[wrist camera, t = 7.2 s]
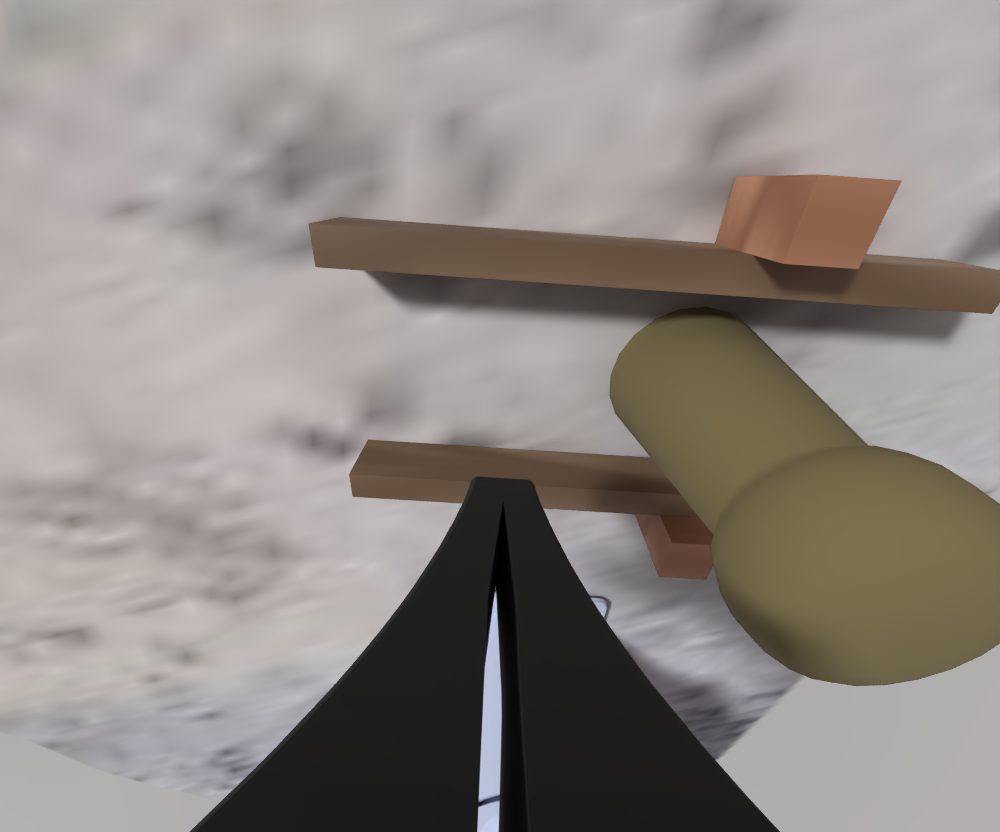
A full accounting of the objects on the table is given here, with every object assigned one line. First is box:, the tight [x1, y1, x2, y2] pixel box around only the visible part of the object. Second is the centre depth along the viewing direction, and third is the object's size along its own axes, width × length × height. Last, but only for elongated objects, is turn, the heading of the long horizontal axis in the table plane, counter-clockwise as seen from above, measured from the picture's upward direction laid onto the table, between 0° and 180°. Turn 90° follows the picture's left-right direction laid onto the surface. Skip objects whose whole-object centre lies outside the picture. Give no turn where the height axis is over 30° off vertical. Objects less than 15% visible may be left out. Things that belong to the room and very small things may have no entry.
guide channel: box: [309, 175, 1000, 579], centre depth 15 cm, size 14×21×4 cm
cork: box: [610, 307, 1000, 686], centre depth 12 cm, size 6×6×11 cm
